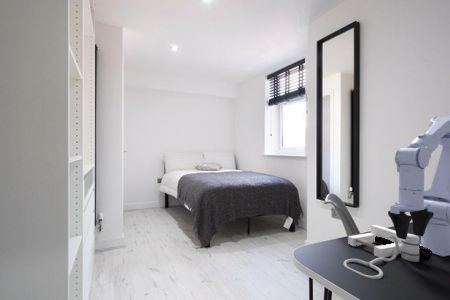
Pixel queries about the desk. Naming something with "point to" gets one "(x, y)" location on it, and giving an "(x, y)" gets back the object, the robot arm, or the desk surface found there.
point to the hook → (374, 261)
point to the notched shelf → (370, 238)
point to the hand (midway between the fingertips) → (410, 236)
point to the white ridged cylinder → (410, 248)
